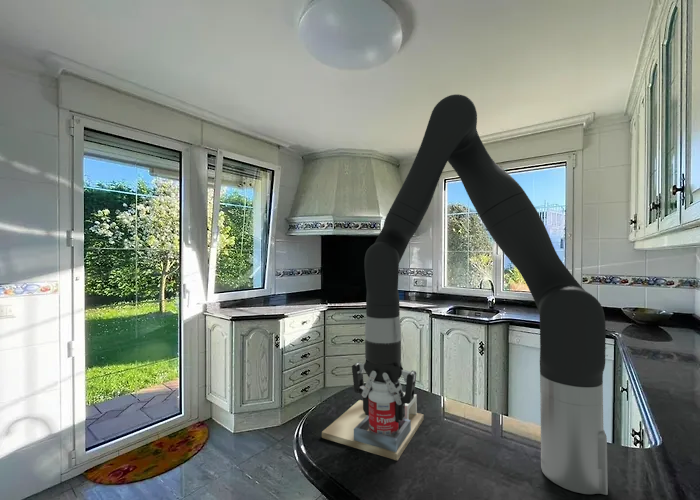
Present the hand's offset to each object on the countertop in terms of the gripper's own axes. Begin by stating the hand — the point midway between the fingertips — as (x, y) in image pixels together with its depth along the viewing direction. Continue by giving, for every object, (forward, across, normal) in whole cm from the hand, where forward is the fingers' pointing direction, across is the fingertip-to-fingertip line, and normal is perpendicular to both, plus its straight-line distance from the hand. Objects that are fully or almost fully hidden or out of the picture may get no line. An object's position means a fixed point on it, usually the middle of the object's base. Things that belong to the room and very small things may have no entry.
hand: (383, 417), depth 70 cm
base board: (+5, +4, -4) cm, 7 cm away
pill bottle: (+4, 0, 0) cm, 4 cm away
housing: (+4, 0, -9) cm, 10 cm away
